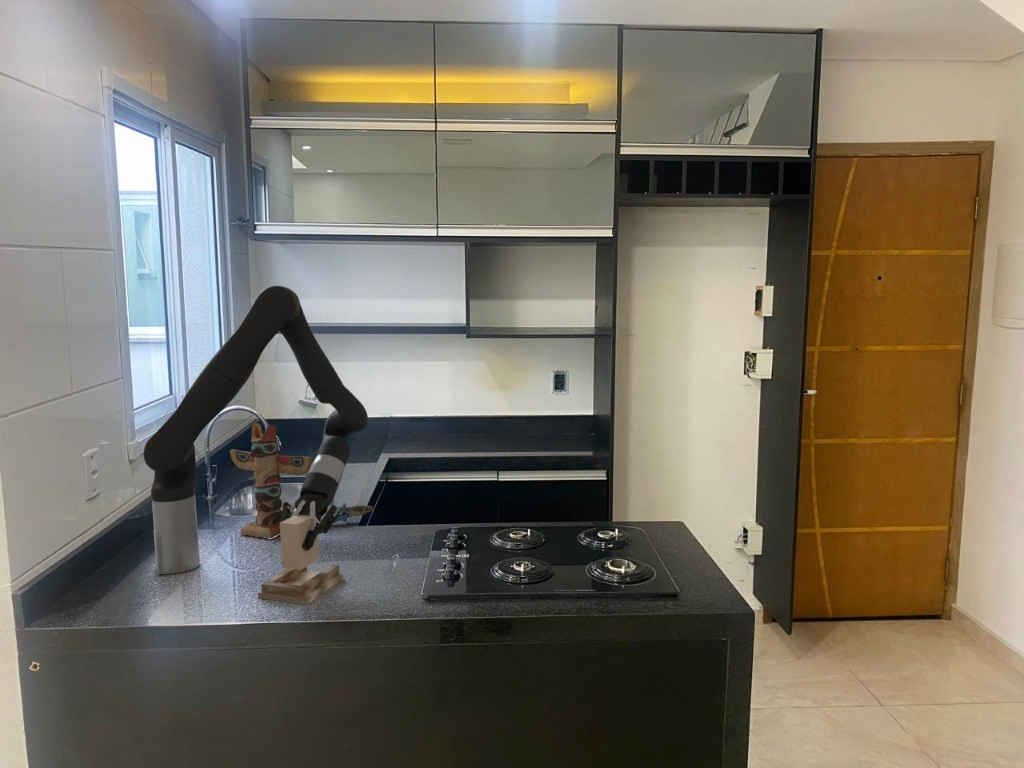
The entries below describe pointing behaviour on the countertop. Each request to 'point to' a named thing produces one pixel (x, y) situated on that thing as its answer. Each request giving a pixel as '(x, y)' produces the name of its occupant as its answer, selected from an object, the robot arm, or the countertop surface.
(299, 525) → the clay block
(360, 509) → the pliers
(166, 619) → the countertop surface
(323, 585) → the wooden rimmed tray
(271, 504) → the totem pole
